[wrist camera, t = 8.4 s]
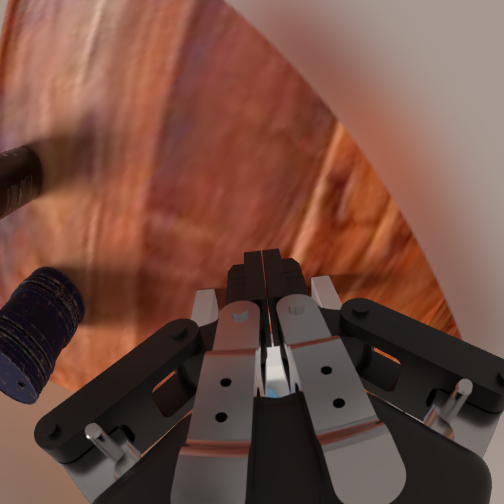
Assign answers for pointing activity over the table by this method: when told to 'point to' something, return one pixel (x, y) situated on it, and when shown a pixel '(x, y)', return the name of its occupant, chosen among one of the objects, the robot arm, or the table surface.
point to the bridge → (323, 296)
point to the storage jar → (36, 331)
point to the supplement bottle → (18, 179)
